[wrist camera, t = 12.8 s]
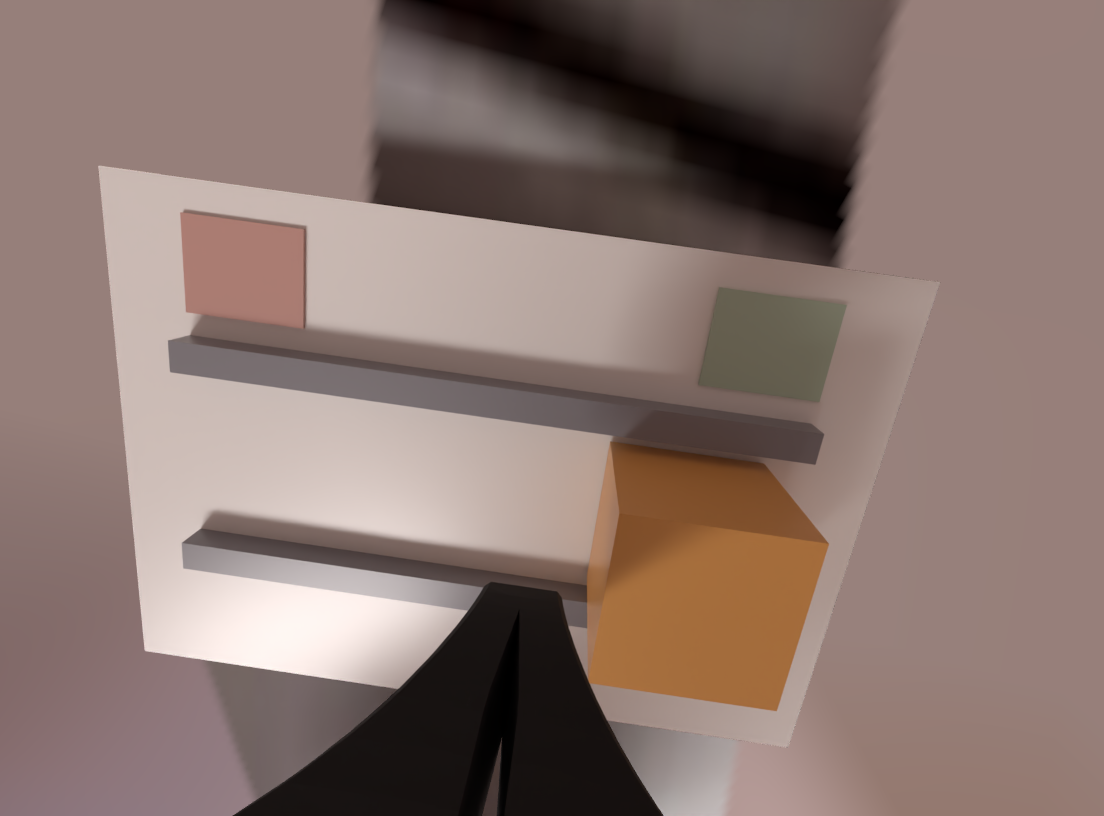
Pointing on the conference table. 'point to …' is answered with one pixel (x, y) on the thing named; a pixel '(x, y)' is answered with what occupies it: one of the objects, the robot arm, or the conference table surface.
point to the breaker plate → (458, 417)
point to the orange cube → (697, 577)
